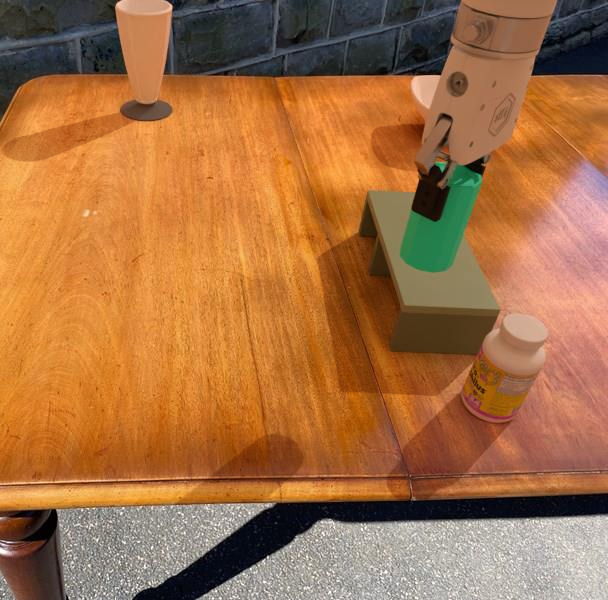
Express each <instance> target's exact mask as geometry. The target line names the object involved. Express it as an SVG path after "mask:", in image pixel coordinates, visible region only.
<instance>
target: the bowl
mask: <svg viewBox="0 0 608 600" xmlns="http://www.w3.org/2000/svg"><path fill="white" fill-rule="evenodd" d="M440 77H441V75H438V74H437V75H435V74H434V75H432V74H431V75H430V74H429V75H425V74H424V75H417V76H414V77H413V79H412V80H411V81H410V84H409V85H410V86H409V87H410V94H411V97H412V101H413V104H414V108H415V109H416V111H417V113H418V114H419V115H420V116H421V118H422V119H423V124H425V123H426V120H427V116H428V113H429V109H430V106H431V103H432V100H433V97H434V94H435V91H436V88H437V85H438V82H439V79H440Z"/></svg>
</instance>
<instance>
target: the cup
mask: <svg viewBox="0 0 608 600" xmlns="http://www.w3.org/2000/svg"><path fill="white" fill-rule="evenodd" d="M114 9H115V17H116V23H117V29H118V36H119V40H120V41H119V42H120V46H121V50H122V55H123V60H124V65H125V70H126V72H127V77H128V80H129V85H130V87H131V90H132V93H133V97H134V99H132V100H128V101H126V102H125V103H124V104H122V105H120V112H121V113H122V115H123V116H124V117H127V118H129V119H131V120H134V121H142V122H153V121H159V120H163V119H165V118H167V117H169V116H170V115H171V114H172V113H173V106H172V105H171V104H170V103H169V102H168V101H167V102H166V101H164V100H161V99H158V97H159V95H160V94H159V93H160V90H161V86H162V83H163V77H164V72H165V69H166V63H167V62H166V61H167V55H168V48H169V43H170V36H171V35H170V34H171V25H172V14H173V5H172V4H171V3H170V2H169V1H167V0H120V1H117V2H116V4H115V7H114Z"/></svg>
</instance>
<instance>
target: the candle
mask: <svg viewBox="0 0 608 600" xmlns="http://www.w3.org/2000/svg"><path fill="white" fill-rule="evenodd" d="M435 162H436V163H435V164H436V165H437V166H439V167H440V169H441V171H442V172H443V170H444V168H445V166H446V164H447V162H441V161H435ZM482 184H483V177H481V175H480V174H478V173H475V172H473V171H471V170H470V169H468V168H466V167H465V166H463V165H458V164H457V166H456V168H455V170H454V172H453V174H452V176H451V178H450V180H449V182H448V184H447V186H449V187H451V188H450V191H449V194H448V197H447V200H446V203H445V207H444V210H443V213H442V216H441V219H440V220H439V221H437V222H433V221H431V220H429V219H427V218H425V217H423V216H421V215H419V214H417V213H415V212H413V211H412V209H411V211H410V215H409V218H408V222H407V225H406V229H405V232H404V236H403V239H402V243H401V247H400V257H401V258H402V259H403V260H404V262H405V263H406V264H408V265H410V266H411V267H413V268H415V269H417V270H421V271H426V272H432V273H435V272H442V271H446V270H447V269H449V268H450V267H451V266H452V265H453V263H454V260H455V257H456V254H457V251H458V249H459V246H460V243H461V240H462V237H463V235H464V236H465V232H466V230H467V229H466V228H467V227H468V224H469V220H470V218H471V214H472V212H473V209H474V206H475V203H476V201H477V198H478V195H479V193H480V190H481V186H482Z"/></svg>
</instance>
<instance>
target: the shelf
mask: <svg viewBox="0 0 608 600" xmlns="http://www.w3.org/2000/svg"><path fill="white" fill-rule="evenodd" d="M415 192H416V191H397V190H377V189H376V190H375V189H367V191H366V197H365V200H364V205H363V210H362V214H361V217H360V222H359V227H358V230H357V233H358V236H359V237H372V238H373V237H374V238H376V239H375V244H374V247H373V251H372V255H371V259H370V263H369V266H368V274H369V275H370V276H387V277H391V280H392V283H393V286H394V290H395V293H396V297H397V299H398V302H399V306H400V307H399V310H398V314H397V317H396V320H395V324H394V327H393V330H392V334H391V337H390V340H389V343H388V347H389V351H390V352H402V353H403V352H405V353H406V352H407V353H423V354H424V353H426V354H447V355H469V356H470V355H473V356H477V354H478V352H479V350H480V348H481V345H482V343H483V341H484V339H485V337H486V336H487V334H489V333H490V332H491V331H493V330H494V327H495V324H496V322H497V321H498V318H499V315H500V313H501V311H502V308H501V307H500V304H499V303H498V301H497V299H496V296H495V295H494V293H493V291H492V288H491V287H490V285H489V284H490V283H488V280H487V279H486V276H485V275H484V273H483V270H482V269H481V266H480V264H479V262H478V260H477V258H476V255H475V254H474V252H473V250H472V248H471V246H470V244H469V242H468V241H467V238H466V236H465V234H464V235H463V237H462V240H461V243H460V246H459V249H458V251H457V254H456V257H455V260H454V263H453V265H452V266H451V267H450V268H449V269H447V270H446V271H442V272H435V273H432V272H426V271H421V270H417V269H415V268H413V267H411V266H410V265H408V264H406V263H405V262H404V260H403V259H402V258H401V257H400V247H401V243H402V239H403V236H404V232H405V229H406V225H407V222H408V218H409V215H410V211H411V206H412V203H413V199H414V196H415Z"/></svg>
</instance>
